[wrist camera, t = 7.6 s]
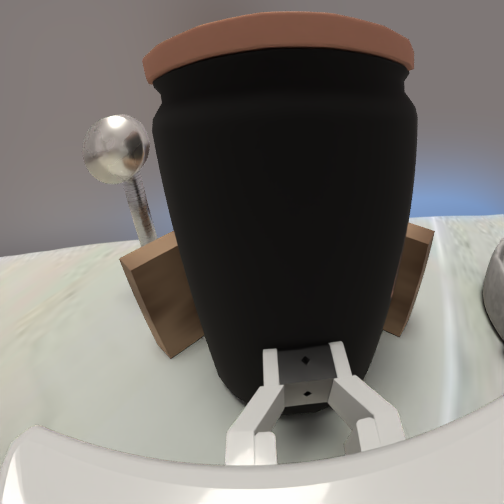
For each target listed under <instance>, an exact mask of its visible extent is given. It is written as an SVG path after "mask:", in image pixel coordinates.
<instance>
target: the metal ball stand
mask: <svg viewBox="0 0 504 504" xmlns="http://www.w3.org/2000/svg"><path fill="white" fill-rule="evenodd" d="M149 148H150V142H149V137H148V134H147V131H146V129H145V128H144V126H143V125H142V124H141V123H140V122H139V121H138V120H137V119H135V118H134V117H131V116H129V115H122V114H121V115H114V116H110V117H106V118H103V119H100V120H99V121H97V122H96V123H95V124H93V125H92V126H91V127H90V129H89V130H88V132H87V133H86V135H85V138H84V141H83V149H82V153H83V159H84V162H85V165H86V167H87V169H88V171H89V172H90V173H91V174H92V175H93V177H95V178H96V179H97V180H99V181H101V182H103V183H107V184H118V183H122V182H123V186H124V190H125V193H126V197H127V201H128V204H129V208H130V211H131V215H132V218H133V222H134V225H135V228H136V231H137V234H138V238H139V241H140V244H141V247H143V246H144V245H146V244H148V243H150V242H152V241H154V240H156V239H157V235H156V232H155V229H154V225H153V221H152V218H151V214H150V210H149V206H148V203H147V199H146V194H145V190H144V186H143V182H142V178H141V174H140V169H141V168H142V167H143V166H144V164H145V162H146V161H147V158H148V155H149V150H150V149H149Z"/></svg>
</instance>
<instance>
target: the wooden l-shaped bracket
mask: <svg viewBox="0 0 504 504" xmlns="http://www.w3.org/2000/svg"><path fill="white" fill-rule="evenodd" d="M434 232H435V231H432V230H429V229H426V228H423V227H420V226H417V225H414V224H411V223H408V228H407V233H406V239H405V244H404V249H403V254H402V259H401V263H400V268H399V272H398V276H397V280H396V284H395V288H394V292H393V296H392V299H391V303H390V307H389V310H388V313H387V317H386V320H385V323H384V326H383V330H385V331H387V332H390V333H392V334H394V335H396V336H398V337H400V335H401V333H402V331H403V330H404V328H405V326H406V324H407V322H408V320H409V317H410V315H411V312H412V309H413V306H414V303H415V300H416V297H417V294H418V291H419V288H420V285H421V282H422V278H423V275H424V271H425V268H426V264H427V261H428V257H429V253H430V249H431V245H432V241H433V236H434ZM119 260H120V262H121V265H122V267H123V270H124V272H125V275H126V277H127V280H128V282H129V284H130V287H131V289H132V291H133V294H134V296H135V298H136V300H137V303H138V305H139V307H140V309H141V311H142V314H143V316H144V318H145V320H146V322H147V324H148V326H149V328H150V330H151V332H152V334H153V336H154V338H155V340H156V342H157V344H158V345H159V346H160V348H161V349H162V350H163V351H164V352H165V353H166V354H167V355H168V356H169V357H170V358H172V357H174V356H175V355H177V354H178V353H180V352H181V351H183V350H184V349H185V348H187V347H188V346H190V345H191V344H193V343H194V342H195V341H197V340H198V339H200V338H201V337H203V336H204V332H203V329H202V326H201V323H200V320H199V317H198V313H197V310H196V307H195V304H194V301H193V297H192V294H191V291H190V287H189V284H188V281H187V277H186V274H185V270H184V267H183V263H182V259H181V256H180V252H179V248H178V245H177V241H176V237H175V233H174V231H172V232H170V233H168V234H166V235H164V236H162V237H160V238H158V239H156V240H154V241H152V242H150V243H148V244H146V245H144V246H143V247H141V248H139V249H137V250H135V251H133V252H131V253H129V254H127V255H125V256H123V257H121V258H120V259H119Z"/></svg>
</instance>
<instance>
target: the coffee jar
mask: <svg viewBox="0 0 504 504" xmlns="http://www.w3.org/2000/svg"><path fill="white" fill-rule="evenodd" d="M143 66H144V71H145V75H146V79H147V81H148V83H149V84H153V86H154V88H155V89H156V90H157V91H158V92H159V93H160V94H161V99H162V104H161V106H160V108H159V109H158V111H157V113H156V115H155V117H154V118H153V127H152V133H153V138H154V143H155V148H156V154H157V159H158V163H159V169H160V173H161V178H162V183H163V187H164V192H165V196H166V200H167V204H168V209H169V213H170V217H171V221H172V225H173V229H174V233H175V237H176V241H177V245H178V248H179V252H180V256H181V259H182V263H183V267H184V270H185V274H186V277H187V281H188V284H189V287H190V291H191V294H192V297H193V301H194V304H195V307H196V310H197V313H198V317H199V320H200V323H201V326H202V329H203V332H204V335H205V338H206V341H207V344H208V347H209V350H210V353H211V355H212V358H213V361H214V364H215V367H216V369H217V372H218V375H219V377H220V378H221V380H222V381H223V382H224V383H225V385H226V386H227V387H228V388H229V390H230V391H231V392H232V393H233V394H234V395H235V396H237V397H238V398H240V399H242V400H243V401H245V402H247V403H249V401H250V400H251V398H252V397H253V396H254V394H255V393H256V391H257V390H258V389H259V387H260V386H264V375H263V349H275V348H276V349H277V348H290V347H303V346H307V345H315V344H322V343H331V342H338V341H342V343H343V345H344V348H345V352H346V355H347V359H348V362H349V366H350V370H351V373H352V376H353V375H356V376H358V377H359V378H360V379H361V380H362V381H363V378H364V376H365V374H366V372H367V370H368V368H369V366H370V363H371V361H372V358H373V356H374V353H375V350H376V347H377V344H378V342H379V339H380V336H381V333H382V330H383V326H384V323H385V320H386V317H387V313H388V310H389V307H390V303H391V299H392V296H393V292H394V288H395V284H396V280H397V276H398V272H399V268H400V263H401V259H402V254H403V249H404V244H405V239H406V233H407V228H408V222H409V215H410V209H411V200H412V193H413V184H414V175H415V164H416V147H417V113H416V108H415V106H414V105H413V103H412V102H411V100H410V99H409V97H408V96H407V95H406V93H405V92H404V81H405V79H406V78H407V76H408V75H409V70H412V69H414V51H413V48H412V46H411V44H410V41H409V39H407V38H405V37H403V36H401V35H400V34H398V33H396V32H394V31H393V30H391V29H389V28H387V27H385V26H382V25H379V24H376V23H372V22H368V21H364V20H360V19H356V18H352V17H347V16H343V15H338V14H332V13H320V12H262V13H255V14H249V15H243V16H238V17H233V18H228V19H223V20H219V21H215V22H211V23H207V24H203V25H199V26H197V27H194V28H192V29H190V30H187V31H185V32H183V33H181V34H178V35H176V36H174V37H172V38H170V39H168V40H166V41H164V42H162V43H160V44H158V45H157V46H155V47H154V48H153V49H152V50H151V51H150V52H149V53H148V54H147V55H146V56H145V57H144V58H143ZM328 406H330V405H329V404H328V402H322V403H313V404H304V405H297V406H289V407H284V410H283V412H282V414H285V415H291V414H301V413H310V412H316V411H319V410H321V409H323V408H326V407H328Z"/></svg>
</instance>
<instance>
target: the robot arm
mask: <svg viewBox="0 0 504 504" xmlns="http://www.w3.org/2000/svg"><path fill="white" fill-rule="evenodd" d="M263 375H264V386H260V387H259V389H258V390H257V391H256V393H255V394H254V396H253V397H252V398H251V400H250V401H249V403H248V404H247V405H246V407H245V408H244V410H243V411H242V412H241V414H240V415H239V416H238V418H237V419H236V420H235V422H234V423H233V424H232V426H231V427H230V428H229V430H228V431H227V437H226V455H225V465H210V464H196V463H185V462H177V461H169V460H162V459H155V458H149V457H144V456H139V455H134V454H129V453H125V452H120V451H116V450H112V449H108V448H104V447H101V446H97V445H94V444H90V443H87V442H84V441H81V440H78V439H75V438H72V437H69V436H66V435H63V434H61V433H58V432H56V431H53V430H51V429H48V428H46V427H43V426H40V425H34V426H32V427H30V428H28V429H27V430H25V431H24V432H23V433H21V434H20V435H19V436H17V437H16V438H15V439H14V440H13V441H12V443H11V445H10V446H9V448H8V450H7V453H6V456H5V458H4V461H3V464H2V467H1V470H0V504H504V395H502V396H500V397H499V398H497V399H495V400H493V401H492V402H490V403H488V404H486V405H485V406H483V407H481V408H479V409H477V410H475V411H473V412H471V413H469V414H467V415H465V416H463V417H461V418H459V419H457V420H454V421H452V422H450V423H448V424H445V425H443V426H440V427H438V428H436V429H433V430H431V431H428V432H425V433H423V434H420V435H417V436H414V437H411V438H408V439H406V437H405V434H404V430H403V427H402V423H401V420H400V417H399V413H398V410H397V409H396V408H395V407H394V406H392V405H391V404H390V403H389V402H388V401H386V400H385V399H384V398H383V397H381V396H380V395H379V394H378V393H377V392H375V391H374V390H373V389H372V388H371V387H369V386H368V385H367V384H366V383H365V382H363V381H362V380H361V379H360V378H359V377H358V376H356V375H353V376H352V373H351V370H350V366H349V362H348V359H347V355H346V352H345V348H344V345H343V343H342V341H338V342H331V343H322V344H315V345H307V346H303V347H290V348H277V349H276V348H275V349H263ZM322 402H328V404H329V405H330V406H331V407H332V408H333V409H334V411H335V412H336V413H337V414H338V415H339V416H340V417H341V418H342V419H343V420H344V422H345V423H346V424H347V425H348V426H349V427H350V428H351V429H352V432H351V433H350V435H349V436H348V438H347V440H346V441H345V443H344V449H345V455H344V456H338V457H333V458H327V459H320V460H313V461H306V462H297V463H286V464H278V461H277V448H276V438H275V434H274V433H272V432H271V431H272V429H273V427H274V426H275V424H276V422H277V421H278V419H279V417H280V415H281V414H282V412H283V410H284V407H289V406H297V405H304V404H313V403H322Z"/></svg>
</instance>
